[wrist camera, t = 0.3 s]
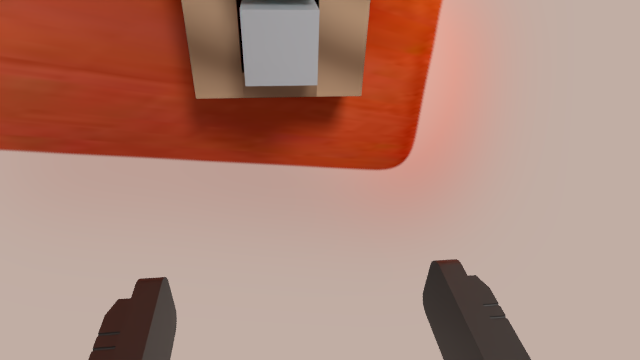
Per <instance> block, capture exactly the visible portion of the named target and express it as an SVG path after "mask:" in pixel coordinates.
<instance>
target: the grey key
mask: <svg viewBox="0 0 640 360" xmlns="http://www.w3.org/2000/svg"><path fill="white" fill-rule="evenodd" d="M319 13H320V10H319V8H318V6H317V4H316V2H315V0H242V1H241V5H240V20H241V33H242V47H243V60H244V73H245V86H304V85H317V81H318V47H319Z"/></svg>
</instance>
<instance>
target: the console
mask: <svg viewBox="0 0 640 360" xmlns="http://www.w3.org/2000/svg"><path fill="white" fill-rule="evenodd" d="M181 2H182V8H183V15H184V22H185V28H186V35H187V42H188V48H189V55H190V62H191V68H192V75H193V82H194V88H195V95H196V99H207V98H267V97H327V96H361V92H362V82H363V71H364V61H365V50H366V40H367V29H368V18H369V8H370V0H318V8H319V10H320V13H319V47H318V81H317V85H304V86H245V73H244V64H241V51H240V39H239V26H238V13H237V0H181Z"/></svg>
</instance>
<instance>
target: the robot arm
mask: <svg viewBox="0 0 640 360" xmlns="http://www.w3.org/2000/svg"><path fill="white" fill-rule="evenodd" d="M423 305H424V310H425V313H426V316H427V318H428V320H429V323H430V326H431V328H432V331H433V333H434V336H435V338H436V341H437V344H438V346H439V349H440V351H441V354H442V356H443V359H444V360H531V359H530V357H529V355H528V354H527V352H526V350H525V348H524V347H523V345H522V343H521V342H520V340H519V338H518V336H517V335H516V333H515V331H514V329H513V328H512V326H511V324H510V322H509V321H508V319H506V318H505V314H504V312H503V310H502V309H501V307H500V306H499V305H498V302H497V300H496V298H495V297H494V295H493V293H492V291H491V290H490V288H489V287H488V286H487V285H486V284H485V283H483V282H482V281H481V280H480V279H479V278H478V277H477V276H476V275H474V276H467V274H466V272H465V270H464V268H463V266H462V265H461V263H460V262H459V261H458V260H457V259H456V260H439V261H433V262H432V263H431V265H430V269H429V273H428V276H427V280H426V284H425V287H424V291H423ZM175 331H176V309H175V305H174V301H173V298H172V294H171V290H170V286H169V283H168V280H167V278H166V277H161V278H145V279H139V280H138V281H137V282H136V285H135V288H134V291H133V294H132V297H131V298H130V299H118V300H117V302H116V303H115V304H114V305H113V306H112V308H111V309H110V310H109V311H108V312H107V314H106V315H105V317H104V319H103V322H102V325H101V328H100V330H99V333H98V334H99V335H98V337H97V338H96V341H95V344H94V347H93V352H91V354H90V357H89V360H170V357H171V352H172V347H173V341H174V337H175Z"/></svg>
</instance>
